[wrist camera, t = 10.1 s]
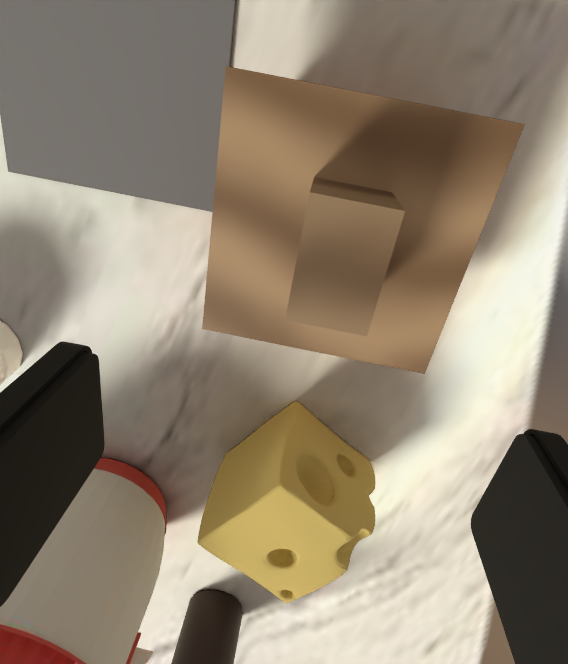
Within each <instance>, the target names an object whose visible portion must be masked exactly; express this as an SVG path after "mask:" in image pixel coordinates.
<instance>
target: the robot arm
mask: <svg viewBox="0 0 568 664" xmlns="http://www.w3.org/2000/svg"><path fill="white" fill-rule="evenodd" d="M103 450H104V429H103V414H102V400H101V386H100V372H99V359H98V356H97V355H96V354H92V350H91V349H90V347H88V346H84V345H79V344H74V343H68V342H60V343H58V344H57V345H55V346H54V347H53V348H52V349H51V350H50V351H48V352H47V353H46V354H45V355H44V356H43V357H41V358H40V359H39V360H38V361H37V362H36V363H34V364H33V365H32V366H31V367H30V368H29V369H27V370H26V371H25V372H24V373H23V374H22V375H21V376H19V377H18V378H17V379H16V380H15V381H14V382H12V383H11V384H10V385H9V386H8V387H7V388H5V389H4V390H3V391H2V392H1V393H0V607H1V606H2V605H3V604H4V603H5V602H6V601H7V599H8V598H9V597H10V595H11V594H12V592H13V591H14V589H15V588H16V586H17V585H18V583H19V581H20V580H21V578H22V577H23V575H24V574H25V572H26V571H27V569H28V568H29V566H30V565H31V563H32V562H33V560H34V559H35V557H36V556H37V554H38V553H39V551H40V550H41V548H42V547H43V545H44V544H45V542H46V541H47V539H48V538H49V536H50V535H51V533H52V531H53V530H54V528H55V527H56V525H57V524H58V522H59V521H60V519H61V518H62V516H63V515H64V513H65V512H66V510H67V509H68V507H69V506H70V504H71V503H72V501H73V500H74V498H75V497H76V495H77V494H78V492H79V491H80V489H81V488H82V486H83V485H84V483H85V481H86V480H87V478H88V477H89V475H90V474H91V472H92V471H93V469H94V468H95V466H96V465H97V463H98V462H99V460H100V458H101V456H102V454H103ZM471 529H472V533H473V536H474V539H475V542H476V545H477V549H478V552H479V555H480V558H481V561H482V564H483V567H484V570H485V573H486V576H487V579H488V582H489V585H490V588H491V591H492V594H493V597H494V600H495V603H496V606H497V609H498V612H499V615H500V618H501V622H502V624H503V627H504V631H505V634H506V637H507V640H508V642H509V646H510V649H511V652H512V655H513V658H514V661H515V664H568V444H567V443H566V442H565V440H564V439H563V438H562V437H561V436H560V435H558V434H555V433H549V432H544V431H539V430H533V429H529V430H527V431H525V432H524V434H519V435H517V436H516V437H515V439H514V441H513V442H512V444H511V446H510V448H509V450H508V451H507V453H506V455H505V457H504V458H503V460H502V462H501V464H500V466H499V467H498V469H497V471H496V473H495V475H494V476H493V478H492V480H491V482H490V484H489V485H488V487H487V489H486V491H485V493H484V494H483V496H482V498H481V500H480V502H479V503H478V505H477V507H476V509H475V510H474V512H473V515H472V518H471Z"/></svg>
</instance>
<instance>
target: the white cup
mask: <svg viewBox="0 0 568 664" xmlns="http://www.w3.org/2000/svg"><path fill="white" fill-rule="evenodd" d="M22 356H23V352H22V349H21V346H20V343H19V339H18V338H17V337H16V335H15V334H14V333H13V332H12V330H11V329H10V328H9V327H8V325H6V324H5V323H4V322H2V321H1V320H0V385H1V384H2V383H3V382H4V381H5V380H6V379H7V378H8V377H9V376H10V375H11V374H12V373H14V372H15V371H16V370H17V369H18V368H19V367H20V364H21V360H22Z"/></svg>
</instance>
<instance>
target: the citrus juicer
mask: <svg viewBox="0 0 568 664" xmlns="http://www.w3.org/2000/svg"><path fill="white" fill-rule="evenodd" d="M165 533H166V505H165V500H164V497H163V495H162V493H161V491H160V490H159V488H158V487H157V486H156V484H155V483H154V482H153V481H152V480H151V479H150V478H149V477H148V476H146V475H145V474H143V473H142V472H141V471H139V470H138V469H136V468H134V467H132V466H130V465H128V464H125V463H122V462H119V461H116V460H112V459H107V458H100V460H99V462H98V463H97V465H96V466H95V468H94V469H93V471H92V472H91V474H90V475H89V477H88V478H87V480H86V481H85V483H84V485H83V486H82V488H81V489H80V491H79V492H78V494H77V495H76V497H75V498H74V500H73V501H72V503H71V504H70V506H69V507H68V509H67V510H66V512H65V513H64V515H63V516H62V518H61V519H60V521H59V522H58V524H57V525H56V527H55V528H54V530H53V531H52V533H51V535H50V536H49V538H48V539H47V541H46V542H45V544H44V545H43V547H42V548H41V550H40V551H39V553H38V554H37V556H36V557H35V559H34V560H33V562H32V563H31V565H30V566H29V568H28V569H27V571H26V572H25V574H24V575H23V577H22V578H21V580H20V581H19V583H18V585H17V586H16V588H15V589H14V591H13V592H12V594H11V595H10V597H9V598H8V599H7V601H6V602H5V603H4V604H3V605H2V606H1V607H0V664H145V663H146V662H147V661H148V660H149V659H150V657H151V655H152V654H153V652H152V651H148V650H145V649H141V648H137V647H136V646H137V644H138V641H139V638H140V636H141V633H138V630H139V628H140V625H141V622H142V620H143V617H144V614H145V612H146V609H147V606H148V604H149V601H150V598H151V596H152V593H153V590H154V587H155V583H156V580H157V577H158V574H159V570H160V565H161V560H162V555H163V548H164V536H165Z"/></svg>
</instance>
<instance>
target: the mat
mask: <svg viewBox="0 0 568 664" xmlns="http://www.w3.org/2000/svg"><path fill="white" fill-rule="evenodd" d="M235 4H236V0H0V115H1V122H2V130H3V137H4V144H5V151H6V159H7V166H8V172H13V173H18V174H23V175H28V176H34V177H39V178H44V179H49V180H54V181H59V182H64V183H69V184H74V185H79V186H84V187H89V188H95V189H100V190H105V191H110V192H115V193H120V194H125V195H130V196H135V197H140V198H145V199H150V200H155V201H161V202H166V203H171V204H176V205H181V206H186V207H191V208H196V209H201V210H206V211H211V212H213V203H214V192H215V181H216V170H217V158H218V147H219V136H220V124H221V113H222V102H223V90H224V79H225V68H226V66H228V67H230V60H231V49H232V38H233V26H234V15H235Z"/></svg>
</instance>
